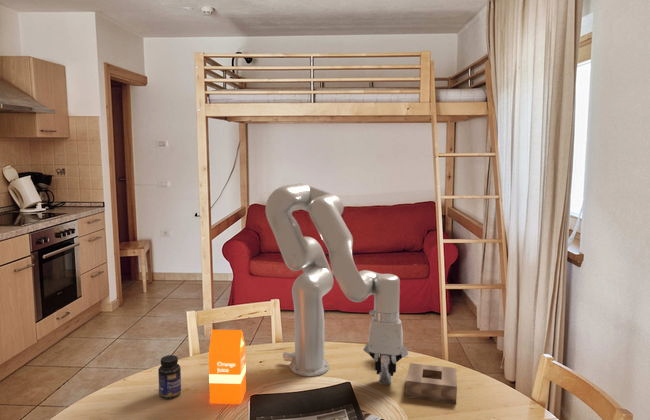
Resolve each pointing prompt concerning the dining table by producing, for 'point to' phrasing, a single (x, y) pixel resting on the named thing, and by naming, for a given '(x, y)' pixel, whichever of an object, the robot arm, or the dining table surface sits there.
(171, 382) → the pill bottle
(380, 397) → the dining table surface
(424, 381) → the socket block
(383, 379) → the pin
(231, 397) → the orange juice
